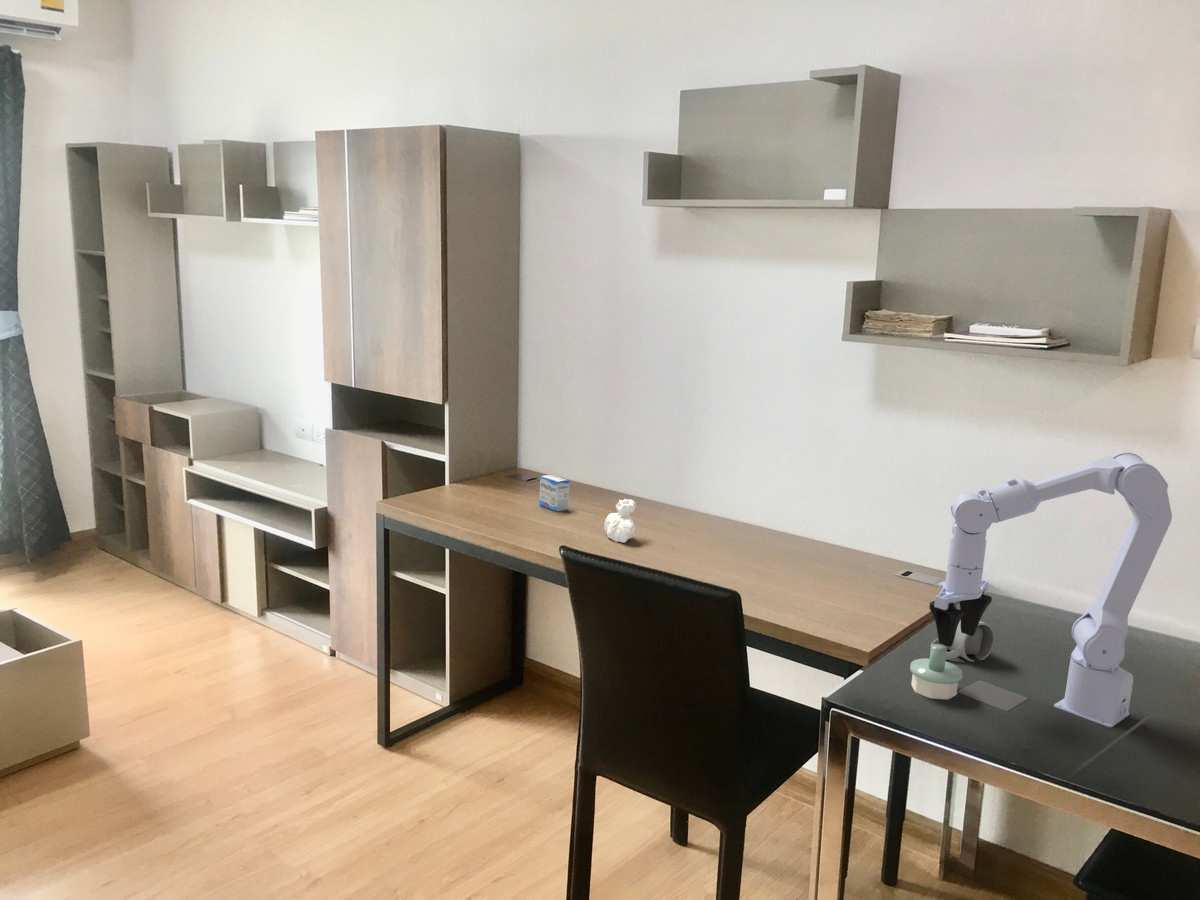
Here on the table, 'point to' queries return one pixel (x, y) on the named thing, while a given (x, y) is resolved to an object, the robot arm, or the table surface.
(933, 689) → the bowl
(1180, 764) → the table surface
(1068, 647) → the table surface
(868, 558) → the table surface
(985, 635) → the ceramic mug
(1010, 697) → the mat
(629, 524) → the white tied sack
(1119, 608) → the robot arm
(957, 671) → the lid
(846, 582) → the table surface
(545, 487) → the medicine box
